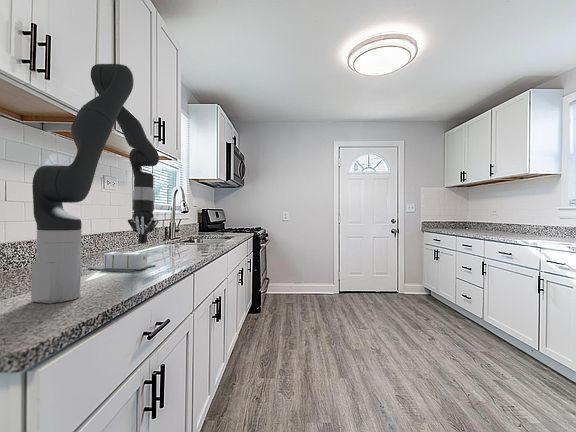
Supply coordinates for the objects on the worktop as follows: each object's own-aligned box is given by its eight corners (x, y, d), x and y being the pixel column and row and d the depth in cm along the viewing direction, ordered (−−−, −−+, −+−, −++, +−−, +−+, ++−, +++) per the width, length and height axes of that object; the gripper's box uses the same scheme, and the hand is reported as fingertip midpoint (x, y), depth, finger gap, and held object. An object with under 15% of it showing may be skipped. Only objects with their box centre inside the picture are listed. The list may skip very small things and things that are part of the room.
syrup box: (141, 254, 126) (103, 252, 126) (140, 269, 126) (102, 268, 126) (147, 252, 132) (111, 251, 132) (147, 267, 132) (111, 266, 132)
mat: (127, 272, 122) (127, 270, 122) (87, 269, 127) (87, 267, 127) (155, 266, 138) (155, 264, 138) (119, 263, 142) (119, 262, 142)
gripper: (122, 198, 128) (121, 243, 128) (151, 198, 124) (150, 245, 124) (136, 199, 135) (135, 242, 135) (164, 199, 132) (163, 243, 132)
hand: (142, 243), depth 130 cm, fingers closed
